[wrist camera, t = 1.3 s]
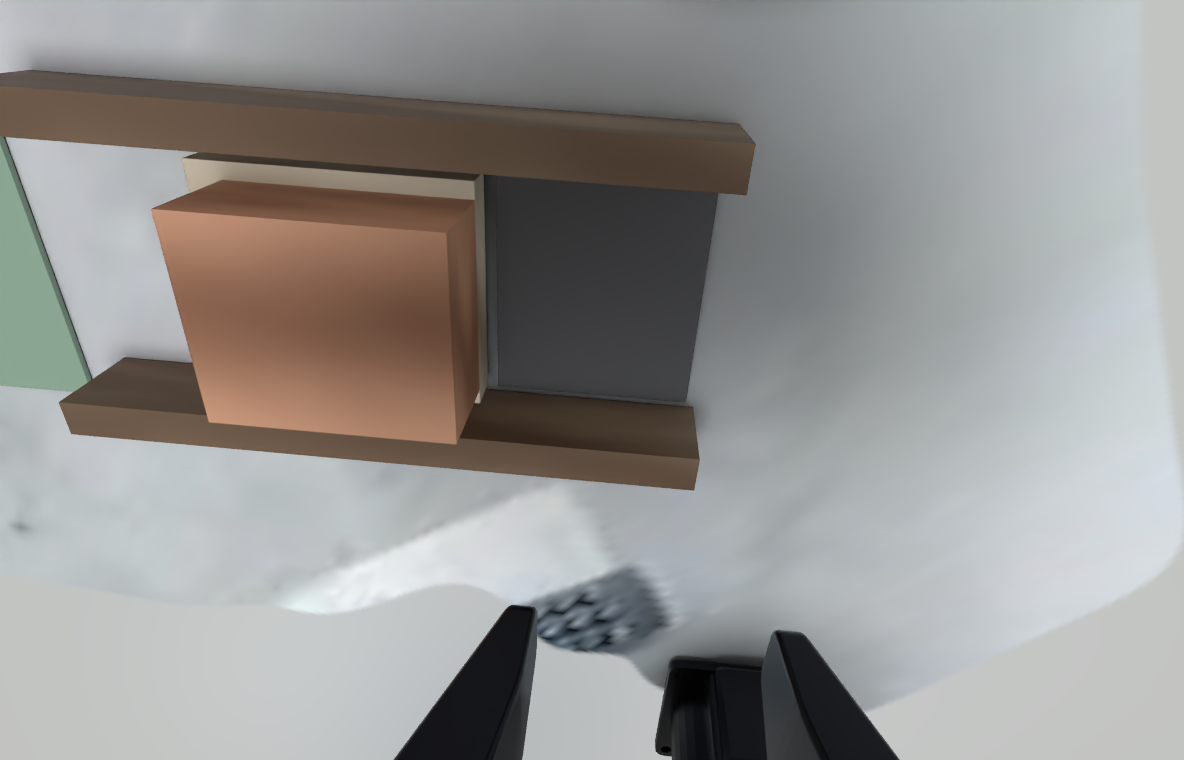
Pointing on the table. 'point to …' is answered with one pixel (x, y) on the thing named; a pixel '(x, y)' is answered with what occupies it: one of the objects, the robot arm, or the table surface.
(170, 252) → the block
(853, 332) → the table surface
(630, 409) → the channel
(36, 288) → the pad
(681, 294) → the trap pit
